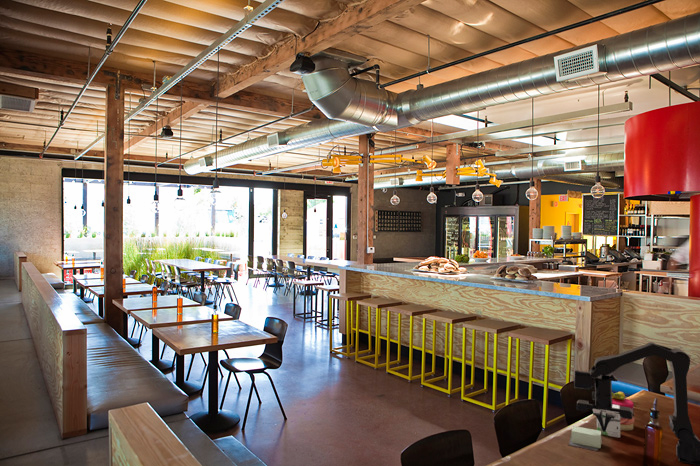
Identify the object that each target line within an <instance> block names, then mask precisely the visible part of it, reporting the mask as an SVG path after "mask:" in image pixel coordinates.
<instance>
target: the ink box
mask: <svg viewBox="0 0 700 466" xmlns="http://www.w3.org/2000/svg"><path fill="white" fill-rule="evenodd" d="M612 408H618V409H620V406H619V405H614V404H612ZM602 416H603V423H604V424H605V417H606V412H604V411H602ZM596 430H598V431H601V436H602V435H603V436H607V437H608V436H609V437H614V438H621V430H620V414H616V413H615V417H614V419H613V418H611V420H610V421H609V423H608V426H607V428H606V431H605V432H603V430H602V428H601V425H600V423H599V421H598V419H597V418H596Z"/></svg>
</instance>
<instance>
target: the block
mask: <svg viewBox="0 0 700 466" xmlns="http://www.w3.org/2000/svg"><path fill="white" fill-rule="evenodd" d="M571 435H572V443H577V444H582V445H587V446H592V447H596V448H598V449H602V448H601V447H602V446H601V445H602V434H601V431H598V430H597V429H592V428H588V427H582V426H575V425H573V426H572V428H571Z"/></svg>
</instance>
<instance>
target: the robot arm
mask: <svg viewBox="0 0 700 466" xmlns="http://www.w3.org/2000/svg"><path fill="white" fill-rule="evenodd" d="M650 356H656V357H658V358H661V359H663V360H664V361H668V363H669V367H670V370H671V372H672V382H673V383H672V384H673V386H672V387H673V389H672V390H673V406H674V411H673V415H672V414H668V418H669V423H668V426H669V428H670V430H671V431H672V432H673V434H674V435H675V437H676V438H677V439H678V440H677V443H676V444H675V446H676V449H675V450H676V458H678V462H680V463H684V464H691V465H695V466H696V465H697V466H700V439H699V438H698V436H697V434H696V433H694V429H693V425H692V422H691V419H690V415H689V403H688V400H689V399H688V383H687V382H688V381H687V379H688V378H687V376H688V373H689V370H690V367H691V357H690V356H689V355H688V354H687V353H686V352H685V351H684V350H682V349H681V348H677V347H676V348H670V347H667V346H664V345H661V344H657V343H655V342H653V341H651V342H650V341H649V342H647V343H646V344H643V345H641V346H638V347H634V348H631V349H630V350H627V351H623V352H620V353H617V354H613V355H612V354H611V355H604V356H599V357H597V358H595V360H594V364H593V366H592V367H591V368H590V369H589V370H588V371H585V370H584V371H583V370H578V369H575V370H574V377H573V383H574V387H573V388H574V389H581V390H582V389H583V390H584V389H585V390H591V389H592V388H594V391H592V392H591V399H592V400H593V401H594V402H595V403H594V404H592V403H589V400H584V399H578V400H577V401H576V411H580V412H583V413H584V412H587V411H588V410H592V415H593V416H595V417H596V420H597V419H598V421H599V423H600V425H601V428H602V430H603V432H605V431H606V428H607V426H608V423H609V421H610V420H611V418H613V419H614V417H615V413H616V414H620V416H621V417H622V418H626V419H632V409H631V408H630V407H623V406H620V409H618V408H612V392H613V388H612V387H613V385H612V382H618V379H617V377H616V375H615V376H614V374H613V373H614V372H615V371H616V370H618V369H619V368H621V367H623V366H625V365H627V364H631V363H634V362H636V361H639V360H642V359H645V358H648V357H650ZM602 411H604V412H606V417H605V424H604V423H603V416H602Z"/></svg>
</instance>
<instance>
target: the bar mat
mask: <svg viewBox="0 0 700 466" xmlns="http://www.w3.org/2000/svg"><path fill="white" fill-rule="evenodd" d="M568 446H571V447H576V448H581V449H586V450H592V451H596V452H598V451H599V448H596V447H592V446H587V445H582V444H577V443H572V434H571V436H570V439H569V442H568Z"/></svg>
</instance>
